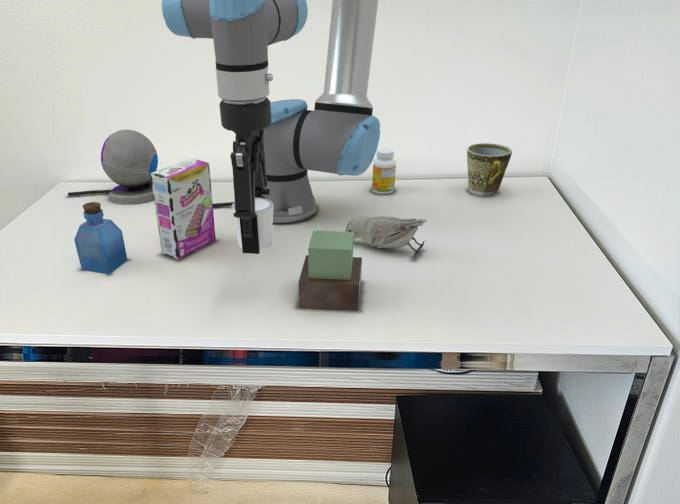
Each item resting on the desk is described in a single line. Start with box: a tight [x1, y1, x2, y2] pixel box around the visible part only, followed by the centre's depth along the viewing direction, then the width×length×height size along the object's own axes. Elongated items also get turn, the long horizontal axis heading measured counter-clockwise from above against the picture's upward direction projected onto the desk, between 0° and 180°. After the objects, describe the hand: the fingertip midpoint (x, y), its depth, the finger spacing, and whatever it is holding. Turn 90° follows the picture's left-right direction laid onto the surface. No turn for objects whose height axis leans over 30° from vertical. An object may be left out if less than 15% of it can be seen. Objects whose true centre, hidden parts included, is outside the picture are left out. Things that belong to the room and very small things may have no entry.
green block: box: [307, 229, 355, 280], centre depth 103 cm, size 7×7×6 cm
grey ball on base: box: [100, 129, 159, 205], centre depth 145 cm, size 13×13×15 cm
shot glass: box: [231, 197, 274, 252], centre depth 102 cm, size 7×7×7 cm
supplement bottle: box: [371, 147, 397, 195], centre depth 146 cm, size 5×5×10 cm
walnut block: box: [298, 254, 363, 311], centre depth 106 cm, size 10×10×5 cm
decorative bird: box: [345, 215, 427, 259], centre depth 120 cm, size 5×16×7 cm, turn 64°
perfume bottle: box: [73, 201, 129, 275], centre depth 115 cm, size 6×6×12 cm
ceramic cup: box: [466, 142, 513, 197], centre depth 143 cm, size 13×10×10 cm
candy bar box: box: [151, 158, 217, 261], centre depth 119 cm, size 11×5×16 cm, turn 145°
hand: (255, 242), depth 104 cm, fingers closed on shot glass, 7 cm apart
